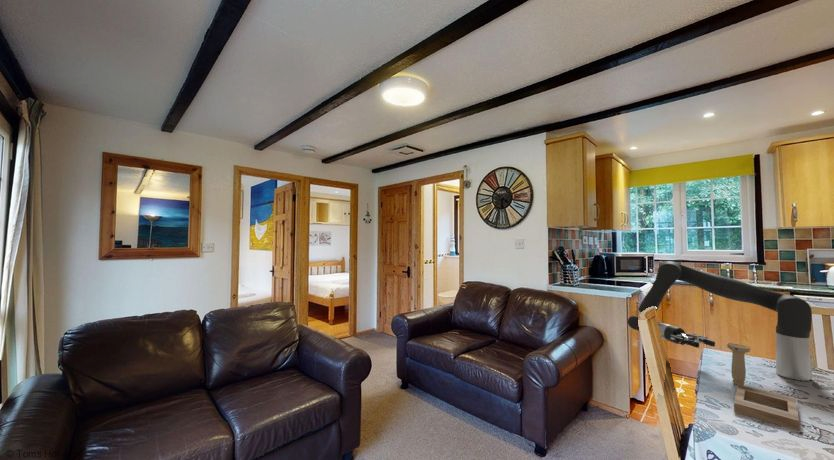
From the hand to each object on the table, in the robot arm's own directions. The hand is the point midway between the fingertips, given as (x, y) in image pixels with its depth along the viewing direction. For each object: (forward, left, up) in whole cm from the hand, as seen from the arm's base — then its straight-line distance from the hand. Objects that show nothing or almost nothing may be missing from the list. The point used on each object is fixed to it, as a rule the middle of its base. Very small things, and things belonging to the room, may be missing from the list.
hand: (706, 344), depth 139 cm
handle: (-2, +11, -12) cm, 16 cm away
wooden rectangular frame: (+8, +29, -12) cm, 32 cm away
